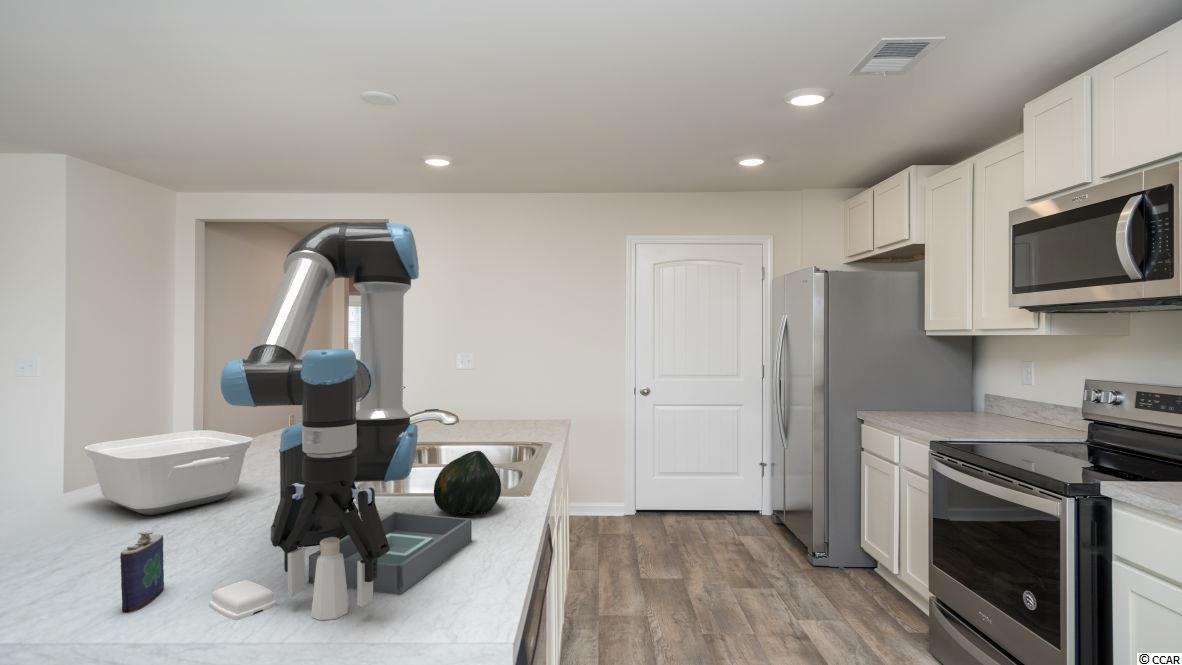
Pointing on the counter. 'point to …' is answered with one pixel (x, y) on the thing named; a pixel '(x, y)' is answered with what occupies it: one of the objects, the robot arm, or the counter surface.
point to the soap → (241, 599)
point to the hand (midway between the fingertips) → (330, 597)
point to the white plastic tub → (169, 469)
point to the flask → (142, 572)
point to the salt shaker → (330, 582)
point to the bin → (406, 550)
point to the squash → (467, 485)
